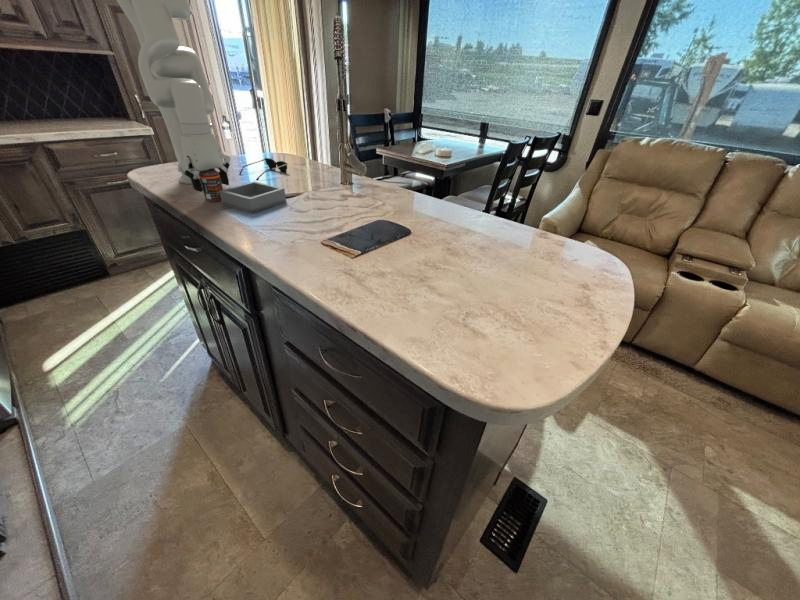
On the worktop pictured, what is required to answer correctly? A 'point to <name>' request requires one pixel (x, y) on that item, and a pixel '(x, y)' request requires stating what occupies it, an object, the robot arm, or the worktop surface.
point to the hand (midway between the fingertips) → (212, 187)
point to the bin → (253, 196)
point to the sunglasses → (271, 166)
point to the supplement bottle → (211, 185)
